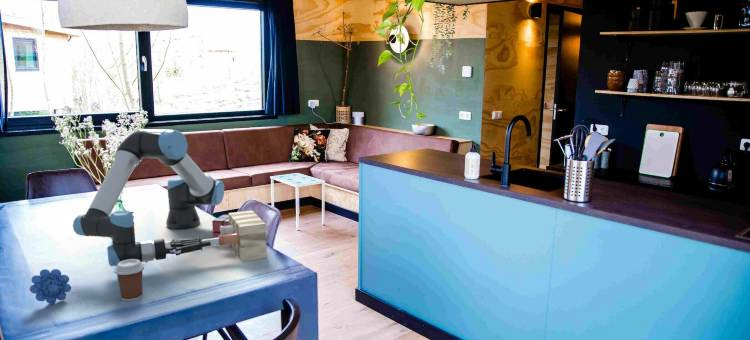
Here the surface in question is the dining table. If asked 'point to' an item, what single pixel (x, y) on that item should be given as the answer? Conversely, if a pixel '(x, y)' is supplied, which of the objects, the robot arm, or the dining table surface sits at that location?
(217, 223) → the puzzle cube
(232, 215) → the socket block
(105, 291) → the dining table surface
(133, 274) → the coffee cup
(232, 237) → the terracotta plug
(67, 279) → the blue lumpy lobed piece
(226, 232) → the white plug
